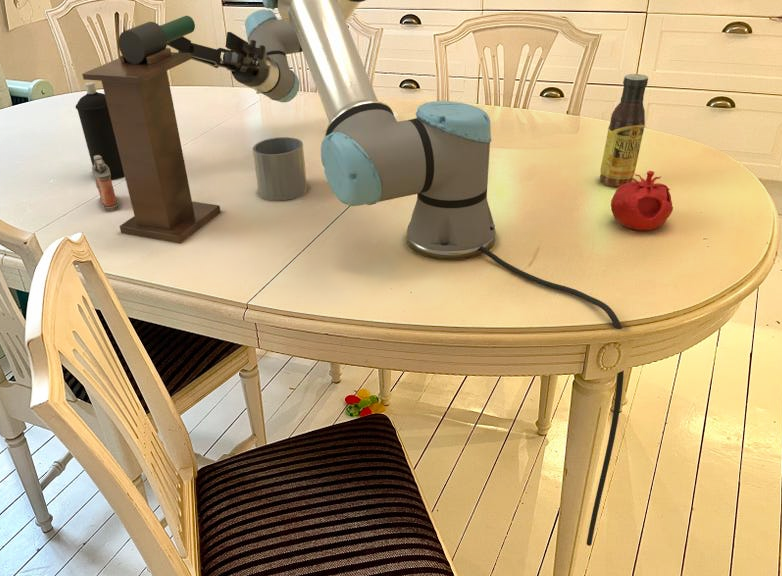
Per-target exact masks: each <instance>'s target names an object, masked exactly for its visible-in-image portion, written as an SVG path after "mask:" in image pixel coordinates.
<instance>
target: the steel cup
mask: <svg viewBox="0 0 782 576" xmlns="http://www.w3.org/2000/svg"><path fill="white" fill-rule="evenodd" d="M252 155H253V161H254V162H253V163H254V168H255V177H256V183H257V190H258V195H259V197H261V198H263V199H265V200H268V201H277V202H278V201H288V200H292V199H296V198H298V197H301V196H303V195H304V194H305V193H306V192H307V189H308V187H307V186H308V185H307V184H308V183H307V174H306V163H305V162H306V161H305V152H304V143H303V141H302V140H301V139H299V138H295V137H289V136H279V137H277V136H276V137H271V138H270V137H269V138H266V139H263V140H260V141H259V142H256V143H255V144H254V145H253V147H252Z"/></svg>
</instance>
